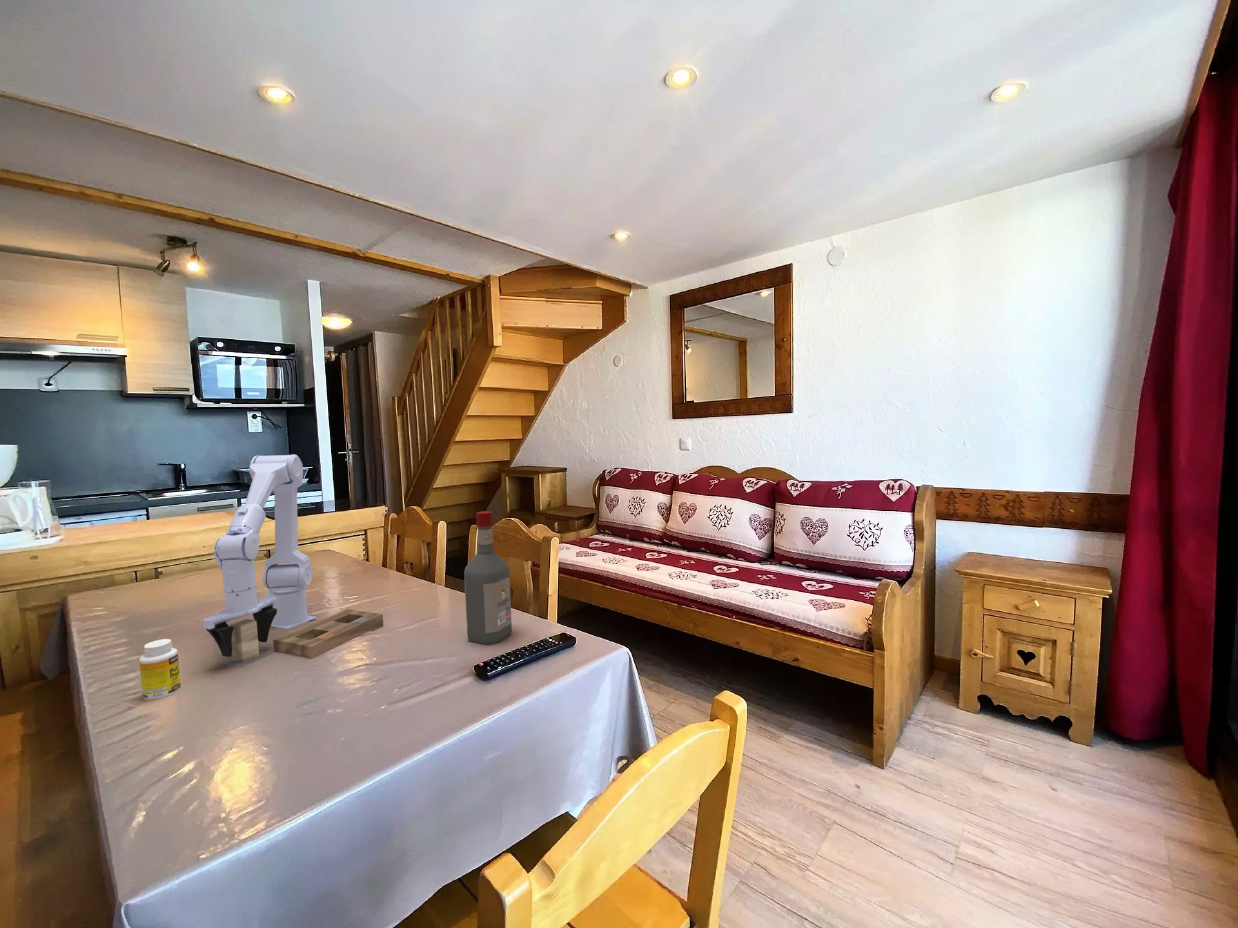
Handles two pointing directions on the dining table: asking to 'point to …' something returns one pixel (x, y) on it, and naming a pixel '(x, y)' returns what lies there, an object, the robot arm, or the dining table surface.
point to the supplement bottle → (159, 670)
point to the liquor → (487, 589)
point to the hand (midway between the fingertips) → (245, 648)
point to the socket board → (328, 633)
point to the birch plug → (245, 640)
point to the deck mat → (241, 664)
